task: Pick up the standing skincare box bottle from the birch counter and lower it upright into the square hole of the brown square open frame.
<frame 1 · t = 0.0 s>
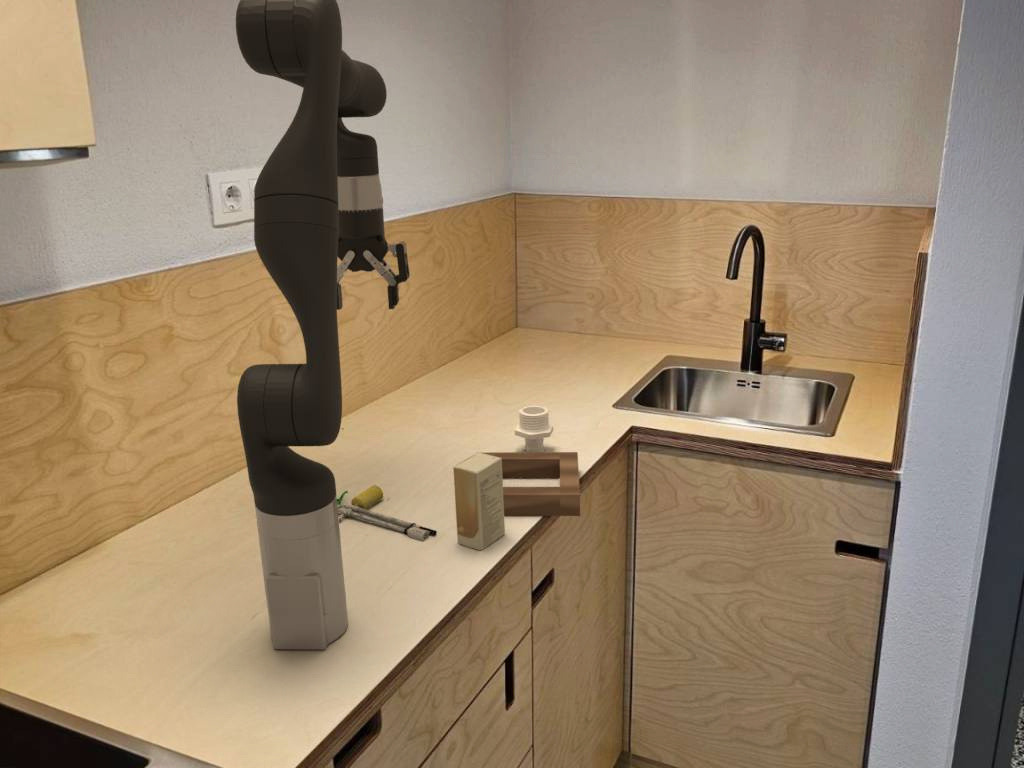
hand: (365, 308, 142), 29 cm above the worktop, fingers open, 8 cm apart
skincare box: (481, 540, 130), on the worktop
pipe fitting: (534, 453, 161), on the worktop
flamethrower: (363, 515, 139), on the worktop
brown square open frame: (525, 492, 144), on the worktop
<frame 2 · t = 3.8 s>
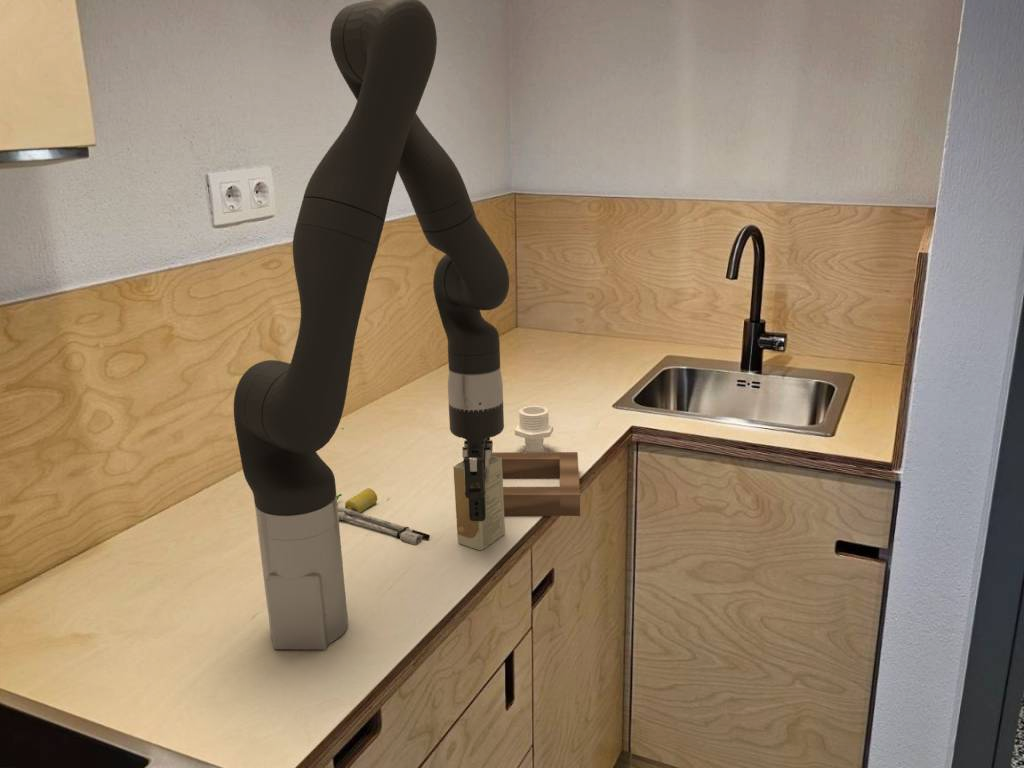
hand: (480, 507, 128), 5 cm above the worktop, fingers closed on skincare box, 7 cm apart
skincare box: (481, 540, 130), on the worktop, touching gripper
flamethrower: (357, 519, 138), on the worktop
everything else where it was.
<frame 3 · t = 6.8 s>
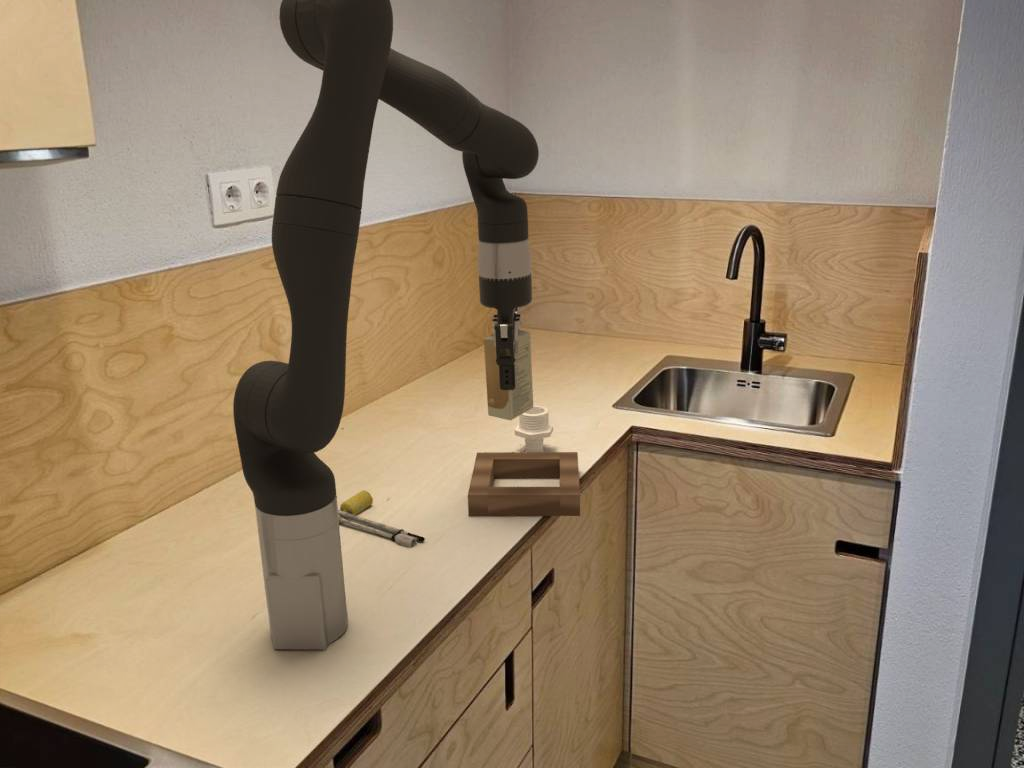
hand: (509, 380, 133), 21 cm above the worktop, fingers closed on skincare box, 7 cm apart
skincare box: (510, 413, 134), point 16 cm above the worktop, touching gripper
when the fingers open (6 cm above the worktop, at t = 10.3 s): skincare box stays where it is, on the worktop.
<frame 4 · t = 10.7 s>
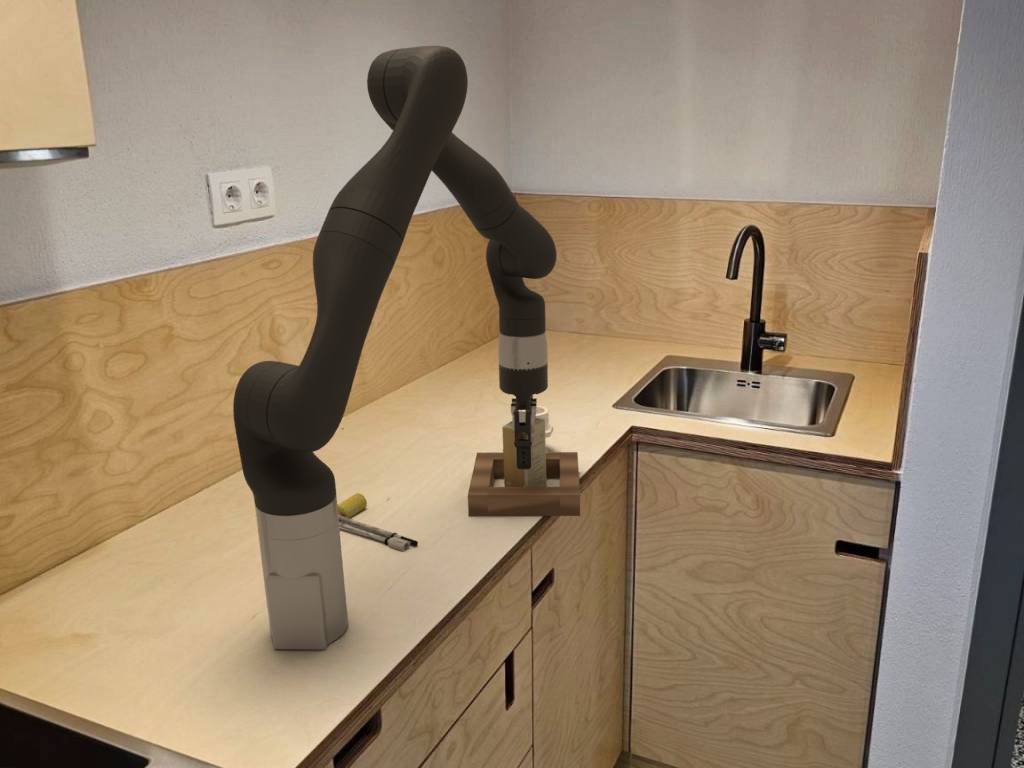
hand: (524, 457, 143), 6 cm above the worktop, fingers open, 8 cm apart
skincare box: (525, 494, 144), on the worktop, touching gripper
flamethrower: (345, 524, 137), on the worktop
everything else where it was.
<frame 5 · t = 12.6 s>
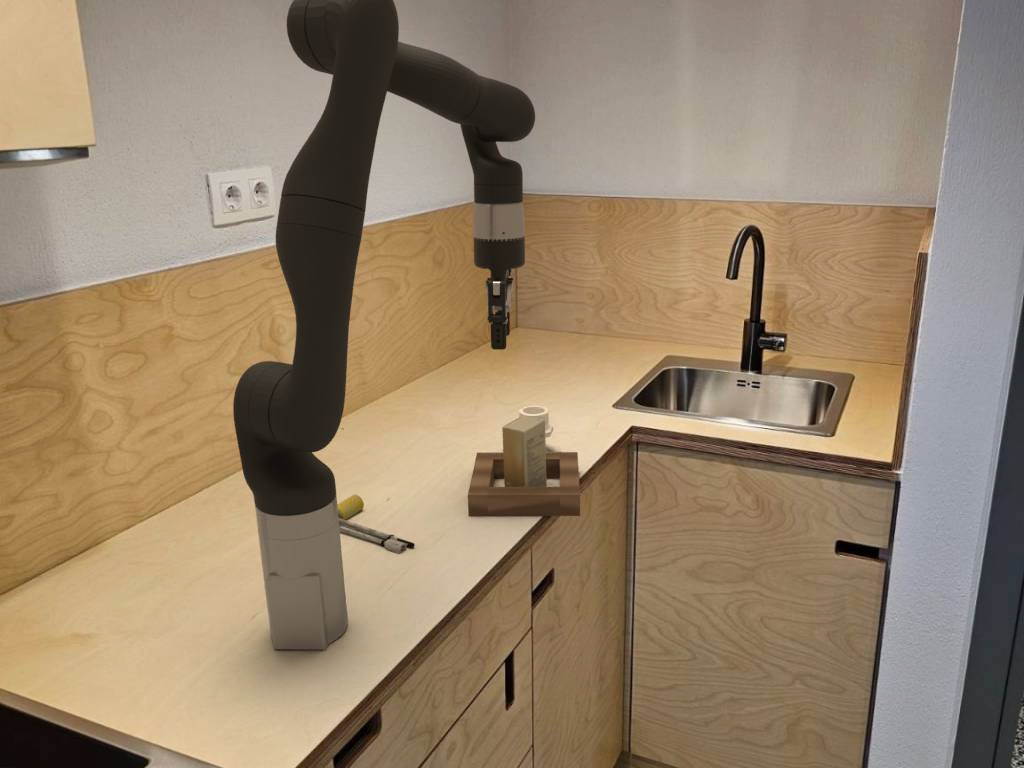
hand: (500, 341, 135), 26 cm above the worktop, fingers open, 8 cm apart
skincare box: (525, 494, 144), on the worktop
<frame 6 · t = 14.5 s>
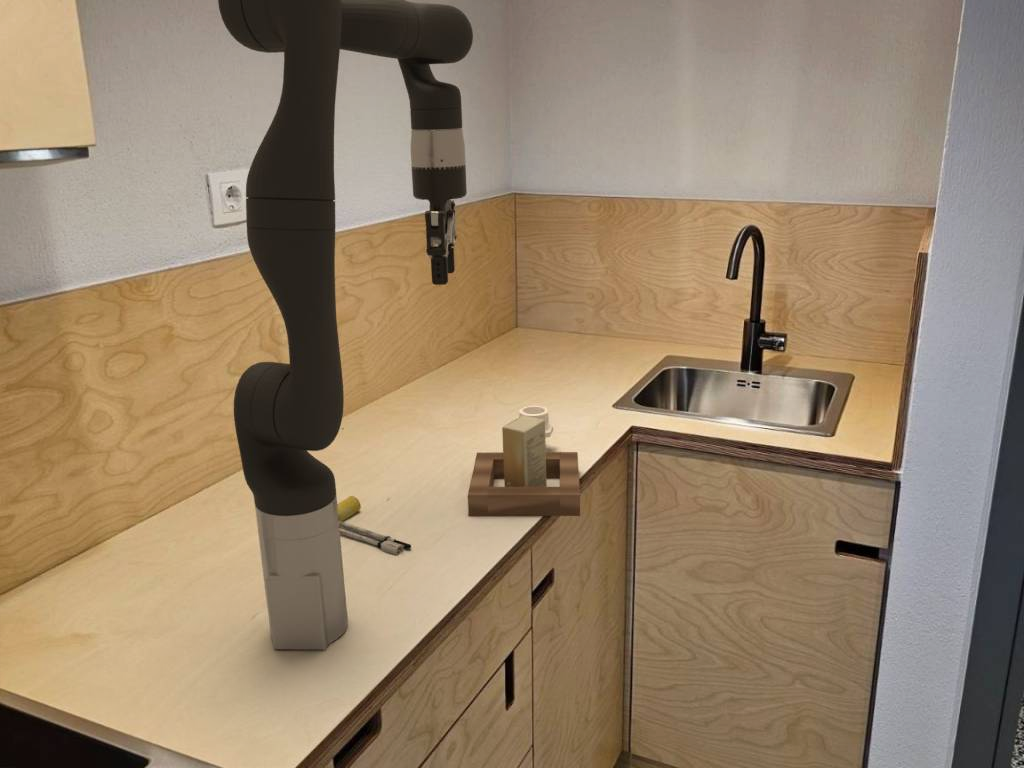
hand: (443, 278, 129), 36 cm above the worktop, fingers open, 8 cm apart
at the end: skincare box 0.4 cm off-centre on the brown square open frame, point 0.0 cm above the brown square open frame's base; skincare box tilted 0°; the gripper is holding nothing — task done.
